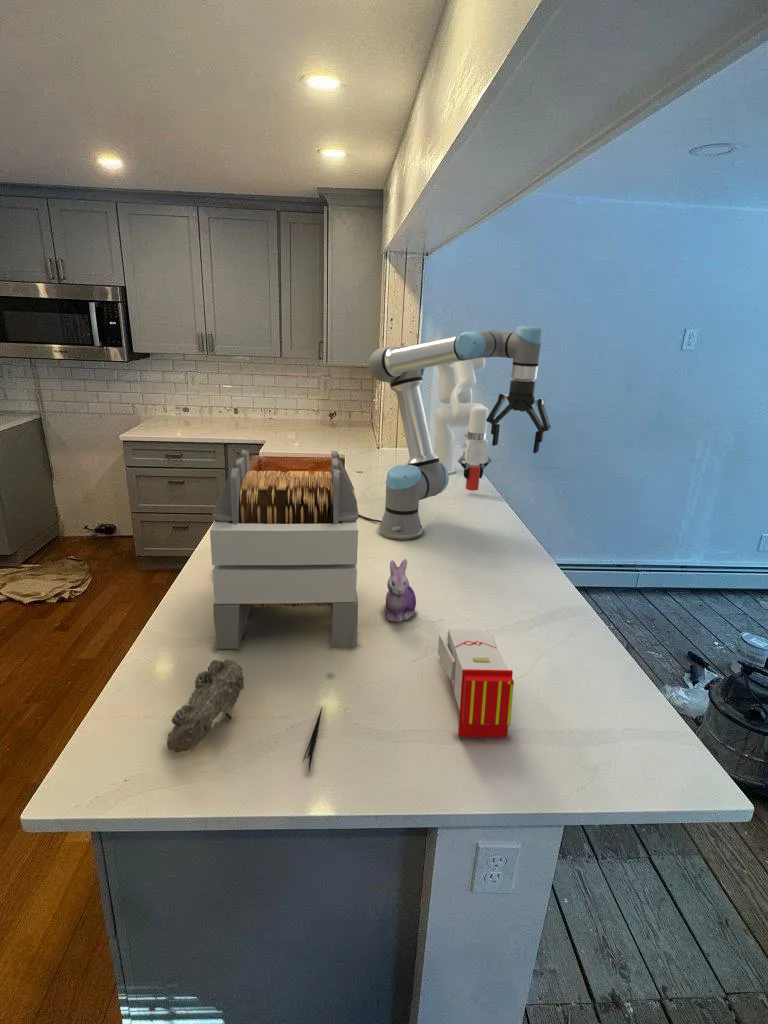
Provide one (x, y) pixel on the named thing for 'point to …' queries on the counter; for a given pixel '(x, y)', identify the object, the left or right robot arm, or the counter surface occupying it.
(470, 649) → the toy
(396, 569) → the figurine
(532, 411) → the left robot arm
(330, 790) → the counter surface
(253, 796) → the counter surface
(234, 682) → the fossil
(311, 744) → the feather
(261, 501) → the grey record storage rack
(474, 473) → the can
